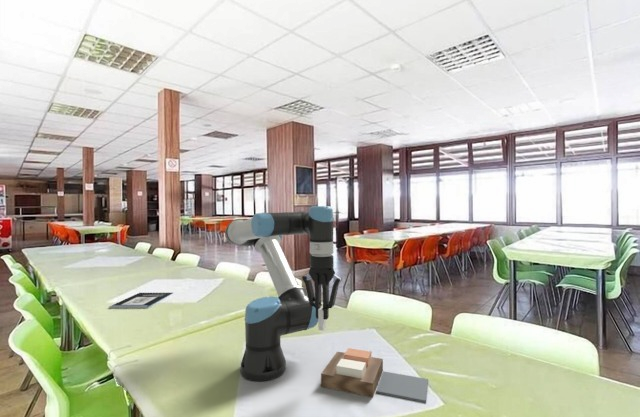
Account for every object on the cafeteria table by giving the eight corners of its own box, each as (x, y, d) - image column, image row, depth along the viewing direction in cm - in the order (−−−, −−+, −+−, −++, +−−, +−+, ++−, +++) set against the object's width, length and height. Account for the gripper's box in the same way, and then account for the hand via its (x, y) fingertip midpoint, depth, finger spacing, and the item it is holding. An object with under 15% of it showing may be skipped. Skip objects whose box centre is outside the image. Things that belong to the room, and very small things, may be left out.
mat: (376, 392, 97) (376, 390, 97) (383, 373, 108) (383, 371, 108) (426, 402, 92) (426, 400, 92) (428, 380, 103) (428, 379, 103)
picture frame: (173, 294, 208) (173, 291, 208) (147, 310, 178) (147, 306, 178) (139, 294, 208) (139, 291, 208) (108, 309, 178) (108, 306, 178)
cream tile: (336, 373, 100) (336, 365, 100) (341, 366, 105) (341, 358, 105) (362, 378, 98) (362, 370, 98) (366, 370, 102) (365, 362, 102)
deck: (321, 386, 101) (321, 373, 101) (337, 362, 116) (337, 351, 116) (372, 397, 95) (372, 383, 95) (382, 370, 110) (382, 358, 110)
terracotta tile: (344, 362, 108) (344, 354, 108) (348, 355, 113) (348, 348, 113) (368, 366, 105) (368, 358, 105) (371, 359, 110) (371, 351, 110)
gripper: (297, 255, 103) (298, 330, 103) (337, 257, 98) (338, 336, 99) (307, 252, 110) (307, 322, 110) (344, 253, 105) (345, 327, 106)
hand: (322, 328), depth 105 cm, fingers closed
